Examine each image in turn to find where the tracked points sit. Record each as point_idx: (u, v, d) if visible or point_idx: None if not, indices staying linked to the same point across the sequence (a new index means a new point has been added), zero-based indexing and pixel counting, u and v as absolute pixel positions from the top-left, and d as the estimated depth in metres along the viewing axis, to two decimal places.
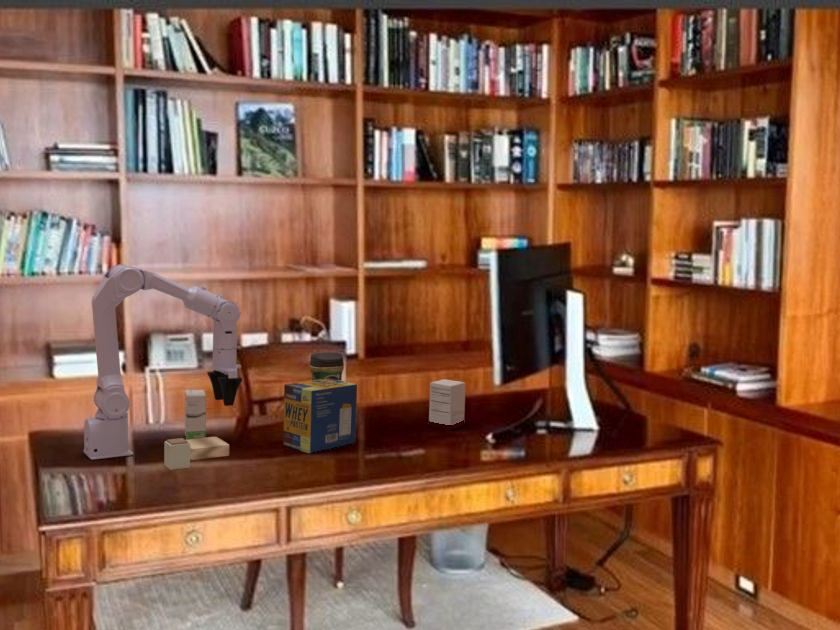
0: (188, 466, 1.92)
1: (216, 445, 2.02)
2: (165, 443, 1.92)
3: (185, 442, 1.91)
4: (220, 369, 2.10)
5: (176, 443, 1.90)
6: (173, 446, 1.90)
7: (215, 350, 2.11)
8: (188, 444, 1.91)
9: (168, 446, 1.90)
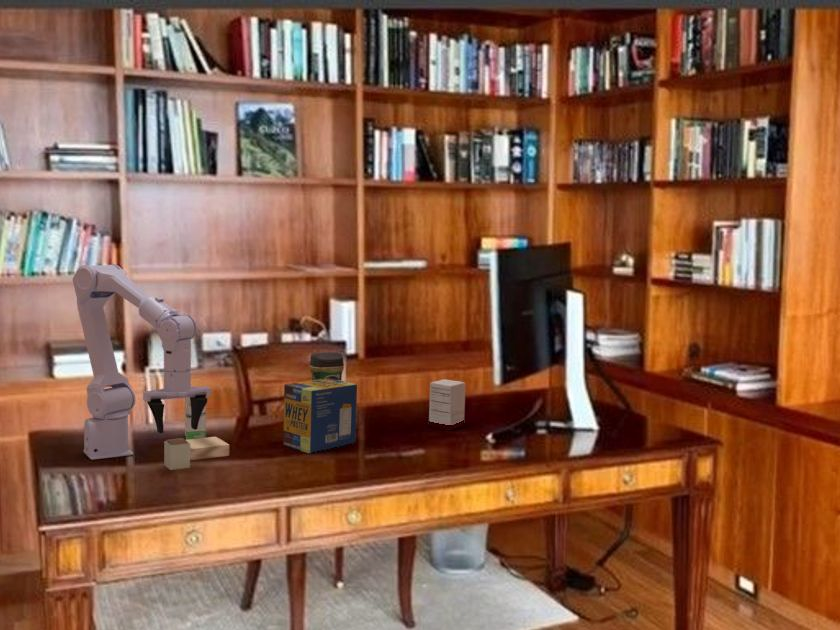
0: (188, 466, 1.92)
1: (216, 445, 2.02)
2: (165, 443, 1.92)
3: (185, 442, 1.91)
4: None
5: (176, 443, 1.90)
6: (173, 446, 1.90)
7: None
8: (188, 444, 1.91)
9: (168, 446, 1.90)
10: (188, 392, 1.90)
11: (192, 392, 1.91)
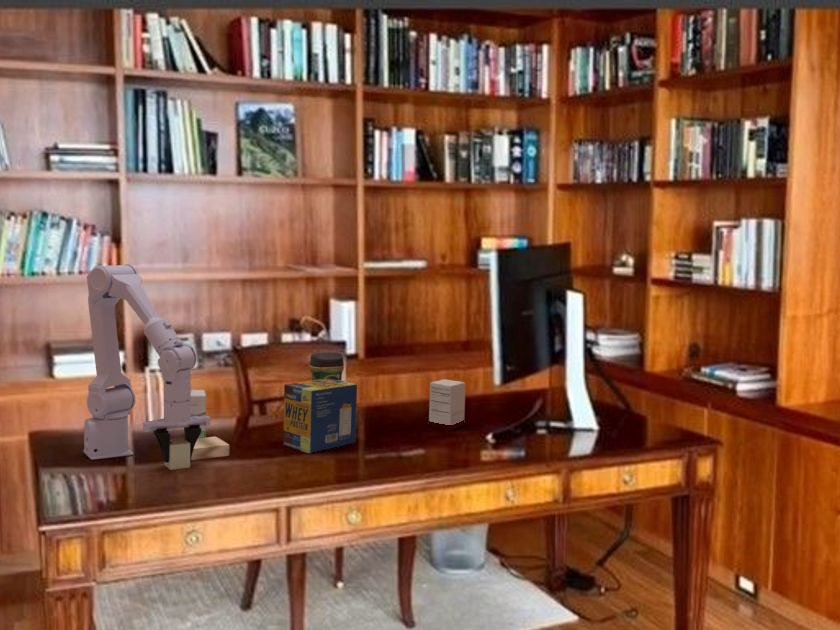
0: (188, 466, 1.92)
1: (216, 445, 2.02)
2: None
3: (185, 442, 1.91)
4: None
5: (176, 443, 1.90)
6: (173, 446, 1.90)
7: None
8: (188, 444, 1.91)
9: None
10: (188, 422, 1.90)
11: (192, 422, 1.91)
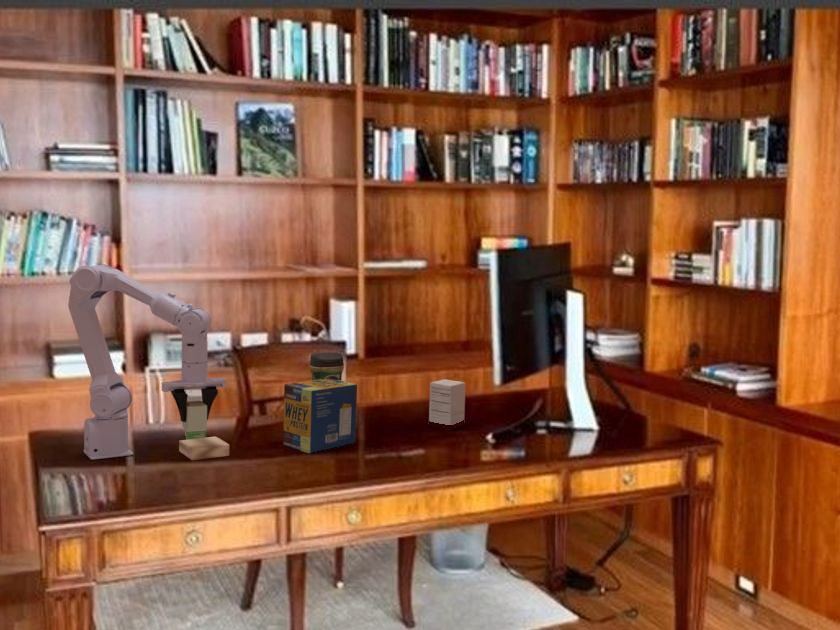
0: (205, 427, 1.98)
1: (216, 445, 2.02)
2: None
3: (202, 404, 1.97)
4: None
5: (193, 405, 1.96)
6: (190, 407, 1.96)
7: None
8: (205, 406, 1.97)
9: (186, 407, 1.97)
10: (205, 383, 1.97)
11: (208, 383, 1.98)
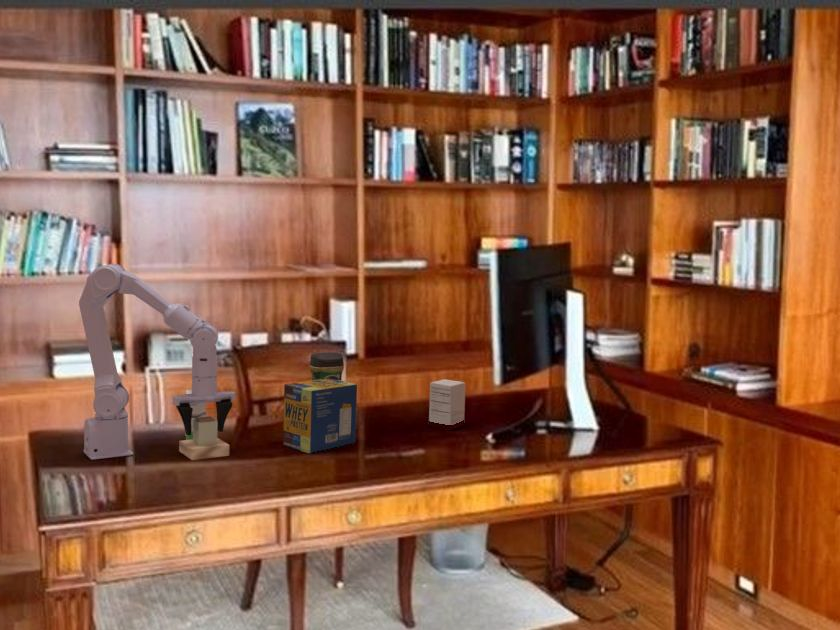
0: (215, 443, 2.03)
1: (216, 445, 2.02)
2: (194, 421, 2.03)
3: (213, 420, 2.03)
4: None
5: (204, 421, 2.01)
6: (201, 423, 2.01)
7: None
8: (215, 422, 2.03)
9: (197, 423, 2.01)
10: (215, 397, 2.02)
11: (218, 397, 2.03)
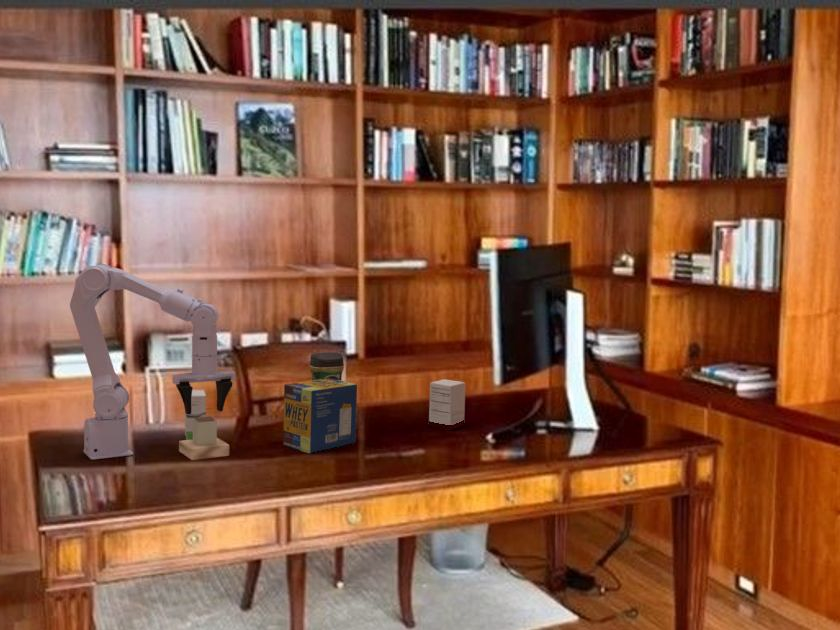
0: (215, 442, 2.03)
1: (216, 445, 2.02)
2: (193, 420, 2.04)
3: (212, 420, 2.03)
4: None
5: (203, 420, 2.02)
6: (201, 423, 2.01)
7: None
8: (215, 421, 2.03)
9: (196, 423, 2.02)
10: (215, 376, 2.01)
11: (218, 376, 2.02)
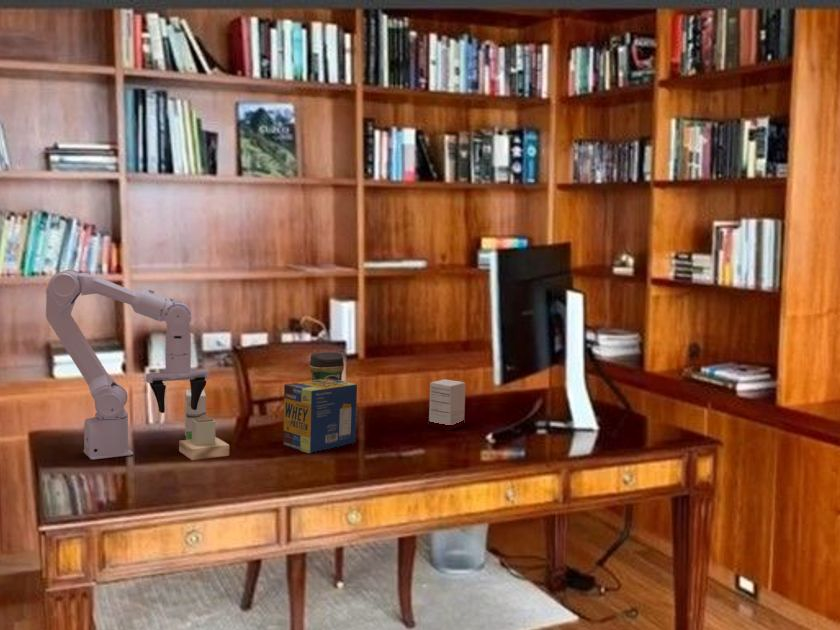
0: (213, 443, 2.03)
1: (216, 445, 2.02)
2: (192, 420, 2.03)
3: (211, 420, 2.02)
4: None
5: (202, 421, 2.01)
6: (199, 423, 2.01)
7: None
8: (213, 422, 2.02)
9: (195, 423, 2.02)
10: (188, 374, 2.02)
11: (192, 374, 2.03)
